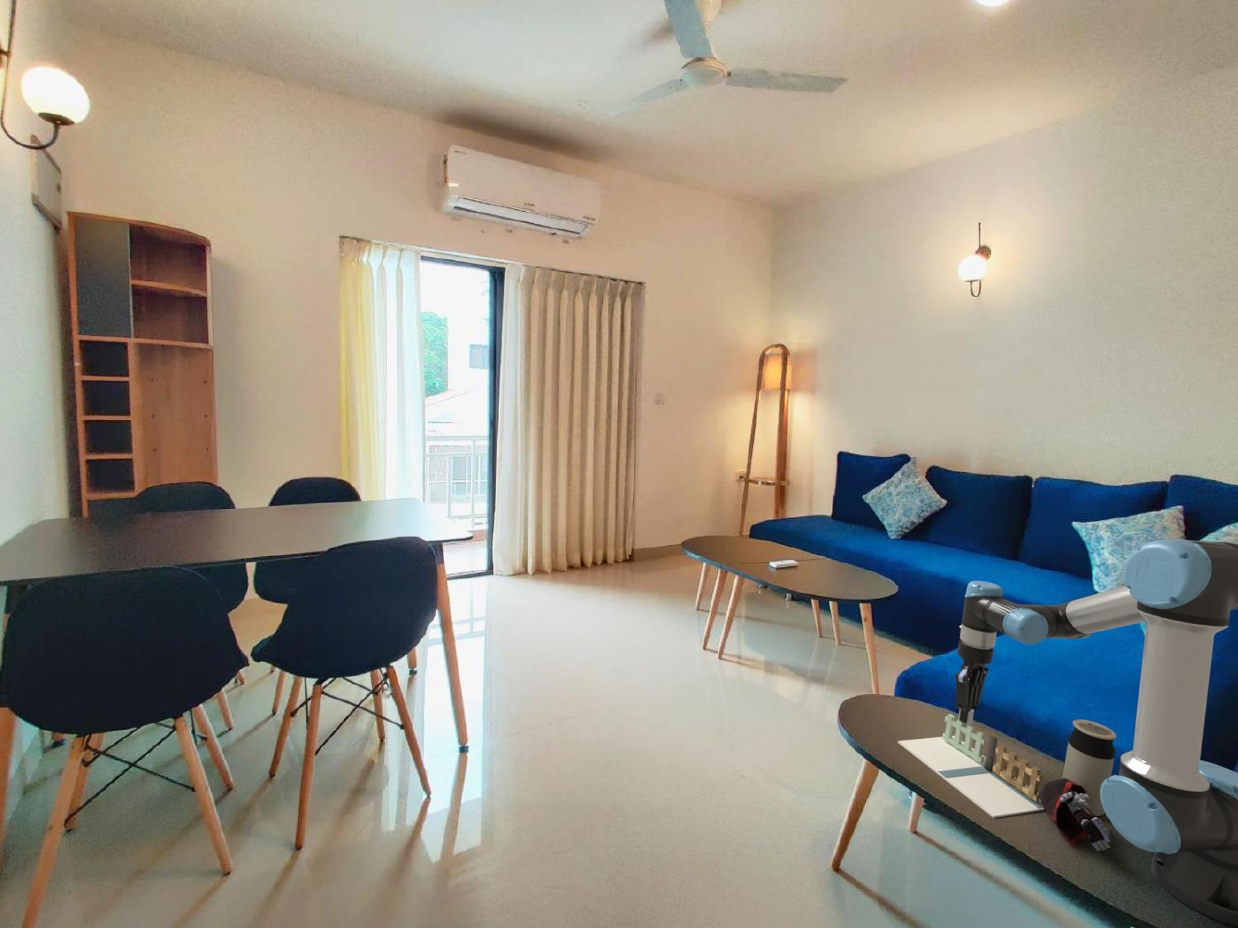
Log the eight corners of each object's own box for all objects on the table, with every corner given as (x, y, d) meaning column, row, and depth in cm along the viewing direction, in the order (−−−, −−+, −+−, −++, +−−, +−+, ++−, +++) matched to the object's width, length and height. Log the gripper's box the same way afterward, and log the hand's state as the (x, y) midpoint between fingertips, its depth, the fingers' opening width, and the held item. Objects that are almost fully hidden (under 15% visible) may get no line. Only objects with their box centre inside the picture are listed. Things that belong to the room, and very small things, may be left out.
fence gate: (983, 762, 145) (987, 735, 144) (980, 763, 144) (984, 736, 143) (944, 737, 155) (948, 712, 154) (941, 738, 154) (945, 712, 154)
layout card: (1057, 808, 130) (1058, 805, 130) (993, 817, 125) (993, 815, 125) (954, 736, 157) (954, 735, 157) (897, 742, 152) (898, 740, 152)
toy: (1095, 793, 115) (1059, 756, 130) (1048, 814, 117) (1018, 776, 132) (1136, 850, 114) (1095, 806, 128) (1088, 871, 116) (1053, 825, 130)
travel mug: (1109, 821, 127) (1123, 742, 125) (1064, 808, 130) (1077, 731, 129) (1097, 800, 134) (1111, 725, 133) (1055, 788, 138) (1067, 714, 136)
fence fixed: (1039, 804, 131) (1045, 768, 130) (1033, 805, 131) (1039, 769, 130) (987, 768, 144) (992, 734, 143) (982, 768, 143) (987, 735, 143)
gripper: (972, 633, 155) (960, 719, 158) (948, 642, 148) (935, 732, 150) (1004, 644, 149) (991, 733, 152) (980, 654, 142) (966, 747, 144)
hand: (963, 732), depth 151 cm, fingers closed
